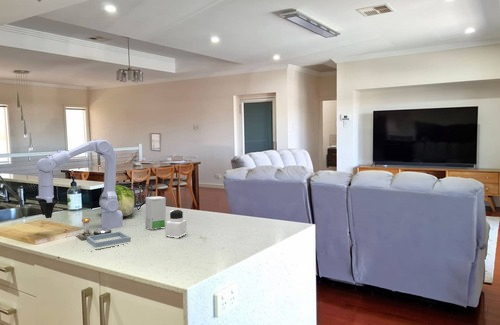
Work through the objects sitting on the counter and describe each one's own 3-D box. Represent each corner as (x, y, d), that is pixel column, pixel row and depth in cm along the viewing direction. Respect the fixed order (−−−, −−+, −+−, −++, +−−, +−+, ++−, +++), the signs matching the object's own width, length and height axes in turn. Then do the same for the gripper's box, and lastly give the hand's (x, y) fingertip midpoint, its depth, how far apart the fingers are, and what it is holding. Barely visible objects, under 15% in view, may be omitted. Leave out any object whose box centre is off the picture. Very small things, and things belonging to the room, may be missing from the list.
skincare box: (150, 230, 188) (150, 199, 187) (144, 228, 193) (144, 197, 191) (166, 228, 193) (166, 197, 192) (159, 225, 198) (159, 195, 197)
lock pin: (89, 235, 173) (88, 217, 172) (91, 237, 171) (91, 219, 170) (81, 236, 171) (80, 218, 170) (83, 238, 168) (83, 220, 168)
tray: (120, 238, 174) (120, 231, 174) (130, 244, 165) (130, 237, 165) (86, 243, 165) (86, 236, 165) (95, 250, 156) (95, 243, 156)
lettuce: (111, 207, 201) (138, 185, 211) (87, 194, 214) (113, 174, 224) (125, 230, 212) (150, 208, 222) (102, 217, 225) (126, 196, 235)
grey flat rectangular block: (106, 233, 182) (106, 226, 181) (114, 238, 174) (114, 231, 174) (74, 238, 172) (74, 231, 172) (81, 243, 165) (81, 236, 165)
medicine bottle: (186, 235, 181) (186, 209, 180) (179, 238, 175) (179, 212, 174) (173, 233, 184) (173, 208, 183) (165, 237, 177) (165, 211, 176)
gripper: (32, 184, 173) (33, 214, 174) (38, 188, 161) (39, 220, 162) (50, 183, 177) (51, 212, 178) (57, 187, 166) (58, 218, 167)
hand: (46, 216), depth 171 cm, fingers open, 7 cm apart
